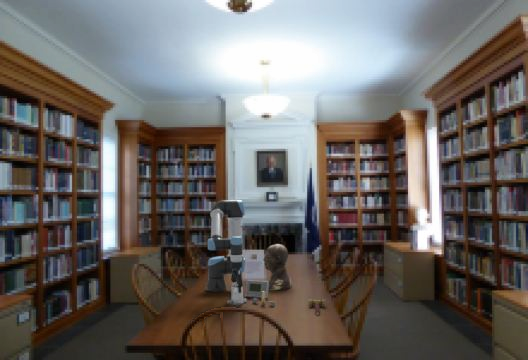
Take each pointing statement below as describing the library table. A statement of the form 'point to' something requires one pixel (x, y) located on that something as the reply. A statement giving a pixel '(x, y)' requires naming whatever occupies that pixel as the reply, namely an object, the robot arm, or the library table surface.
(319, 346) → the library table surface
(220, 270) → the robot arm
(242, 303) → the pad
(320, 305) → the gavel
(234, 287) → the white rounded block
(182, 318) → the library table surface
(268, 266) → the portrait bust
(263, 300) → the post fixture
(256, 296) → the digital clock
